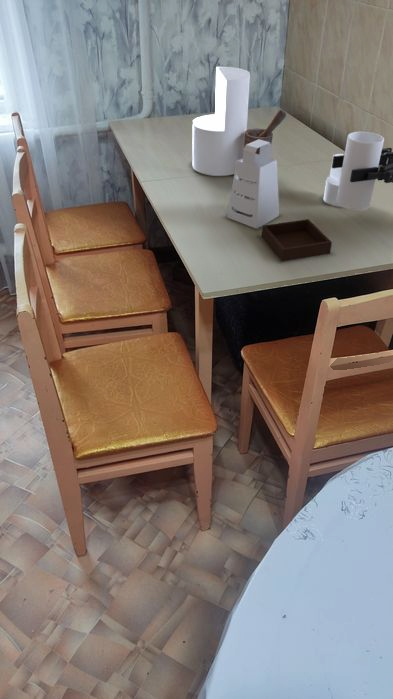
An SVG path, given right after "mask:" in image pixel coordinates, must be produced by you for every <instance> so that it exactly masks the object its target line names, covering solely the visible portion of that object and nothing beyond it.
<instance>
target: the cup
mask: <svg viewBox="0 0 393 699" xmlns="http://www.w3.org/2000/svg"><path fill="white" fill-rule="evenodd" d="M384 142H385V137H384V136H382V135H381V134H379V133H375V132H372V131H354V132H353V131H352V132H350V133H349V134H347V138H346V144H345V149H344V154H343V155H344V160H343V165H342V171H341V177H340V182H339V188H338V193H337V199H336V202H337V204H338V205H340V206H342V207H341V208H345V209H349V210H365V209H367V208H369V207H370V205H371V201H372V196H373V192H374V188H375V182H376V179H375V180H367V181H359V182H350V178H351V172H352V170H354V169H363V168H372V167H378V168H379V166H380V165H379V161H380V156H381V152H382V149H383V147H384Z"/></svg>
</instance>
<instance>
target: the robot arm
mask: <svg viewBox="0 0 393 699" xmlns="http://www.w3.org/2000/svg"><path fill="white" fill-rule="evenodd" d="M332 159H333V163H332V162H331V165H332V168H341V167H342V165H343V160H344V154H343V155H341V156H334V157H333V156H332ZM367 180H375V181H376V180H378V181H383V183H385V184H390V183H393V148H392V147H386V148H385V147H384V148H382V152H381V156H380V161H379V165H378V167H372V168H363V169H354V170H352V172H351V178H350V182H359V181H367Z"/></svg>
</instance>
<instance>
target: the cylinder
mask: <svg viewBox="0 0 393 699" xmlns="http://www.w3.org/2000/svg"><path fill="white" fill-rule="evenodd" d="M215 70H216V71H215V109H214V113H213V114H211V113H210V114H204V115H201V116H197V117H195V118H194V119H193V120H192V125H191V126H192V127H191V128H192V132H191V133H192V138H191V142H192V145H191V146H192V147H191V148H192V150H191V151H192V153H191V156H192V157H191V160H192V162H191V163H192V167H191V168H192V169H193V170H194V171H196V172H197V173H200V174H202V175H205V176H213V177H214V176H215V177H225V176H232V175H234V174H235V169H236V164H237V161H238V160H240V159H242V158H243V150H244V142H245V141H244V139H245V131H246V130H248V115H249V100H250V99H249V98H250V86H251V85H250V83H251V73H250V71H248V70H246V69H244V68H240V67H235V66H220V65H219V66H216V68H215Z"/></svg>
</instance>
